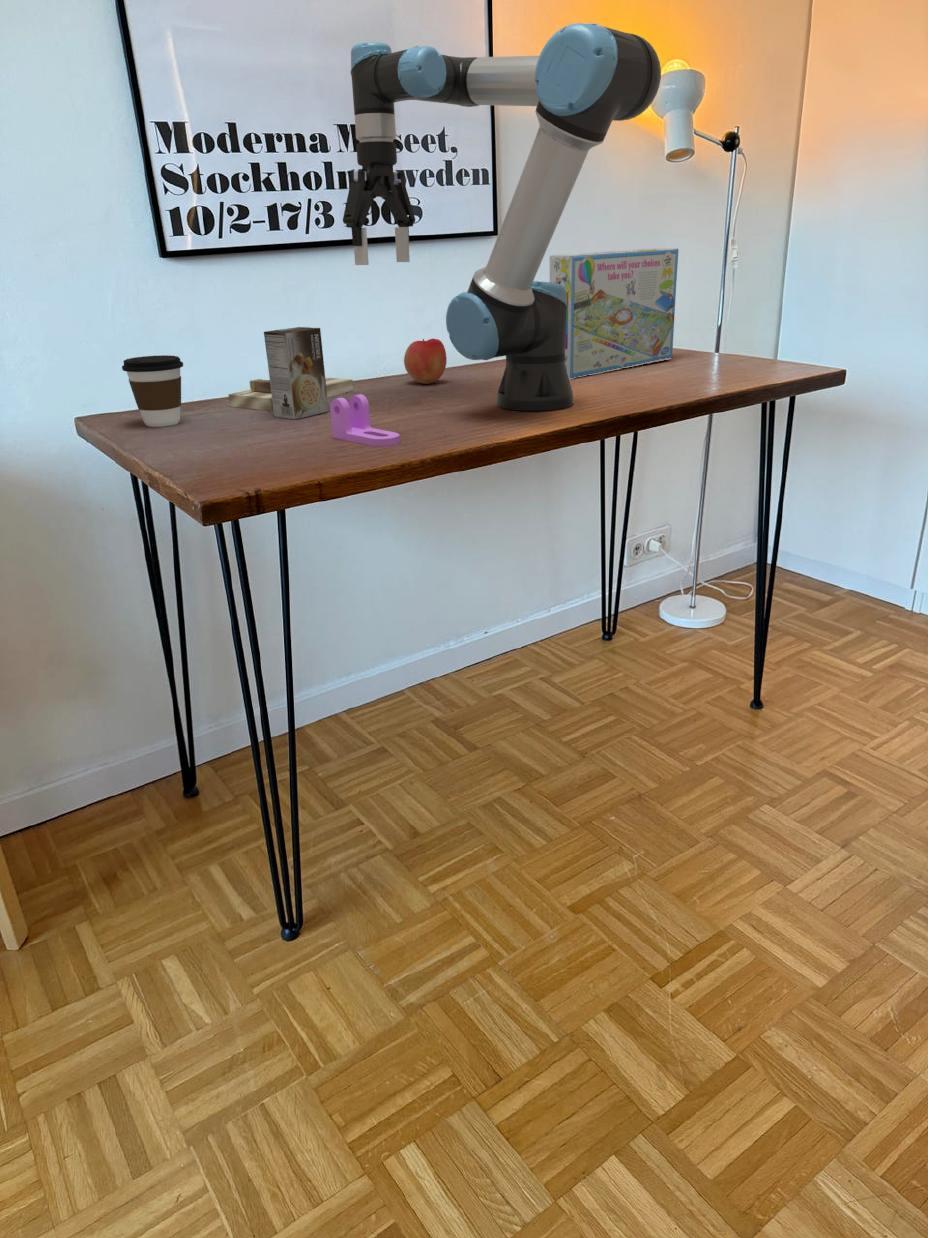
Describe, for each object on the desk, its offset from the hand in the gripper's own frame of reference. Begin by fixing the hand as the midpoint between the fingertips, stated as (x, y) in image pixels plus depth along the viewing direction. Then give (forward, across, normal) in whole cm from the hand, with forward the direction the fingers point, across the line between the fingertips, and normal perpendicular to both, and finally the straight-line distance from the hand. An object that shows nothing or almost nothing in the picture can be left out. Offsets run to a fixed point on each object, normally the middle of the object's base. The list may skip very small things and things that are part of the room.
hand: (383, 263), depth 171 cm
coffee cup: (+27, +39, -26) cm, 54 cm away
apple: (+27, -22, -6) cm, 35 cm away
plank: (+27, +7, -21) cm, 35 cm away
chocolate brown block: (+27, +14, -18) cm, 35 cm away
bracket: (+27, +32, +19) cm, 47 cm away
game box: (+27, -59, +25) cm, 70 cm away
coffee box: (+27, +20, -7) cm, 34 cm away
